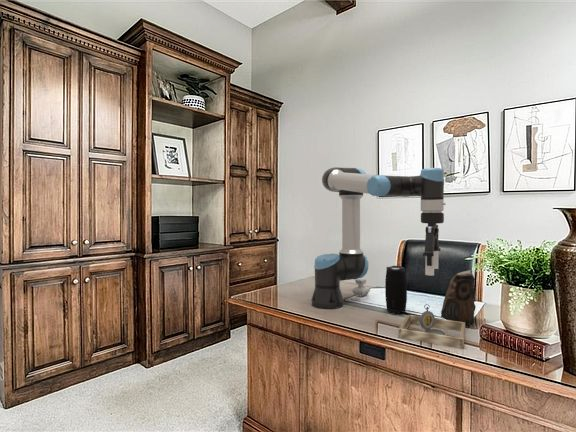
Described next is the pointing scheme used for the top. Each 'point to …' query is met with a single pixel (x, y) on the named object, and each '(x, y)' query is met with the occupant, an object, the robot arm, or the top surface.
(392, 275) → the portable speaker
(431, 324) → the pocket watch
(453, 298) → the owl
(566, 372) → the top surface
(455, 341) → the box
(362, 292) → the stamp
